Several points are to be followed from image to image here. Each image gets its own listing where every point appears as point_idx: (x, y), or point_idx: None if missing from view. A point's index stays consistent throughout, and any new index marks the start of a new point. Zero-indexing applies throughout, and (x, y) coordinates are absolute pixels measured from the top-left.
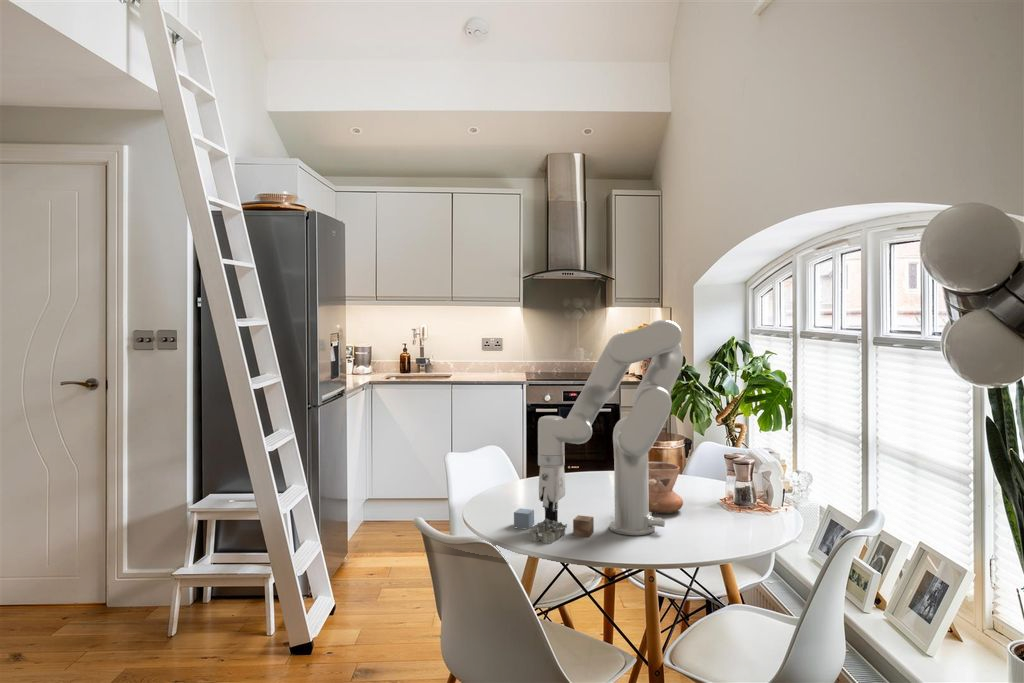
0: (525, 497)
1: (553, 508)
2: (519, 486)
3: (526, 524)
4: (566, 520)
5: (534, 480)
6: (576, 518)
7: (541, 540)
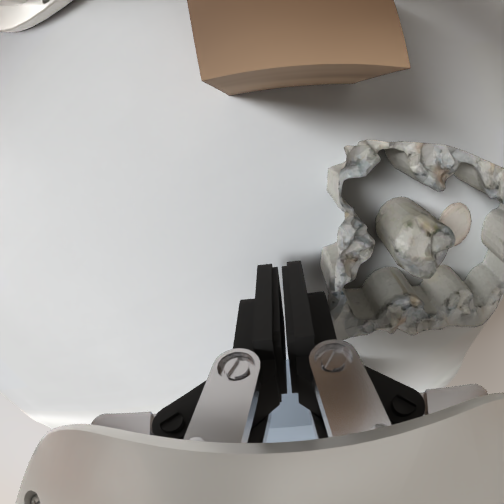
0: (67, 414)
1: (364, 369)
2: (46, 420)
3: None
4: (95, 268)
5: (13, 402)
6: (347, 42)
7: (482, 229)
